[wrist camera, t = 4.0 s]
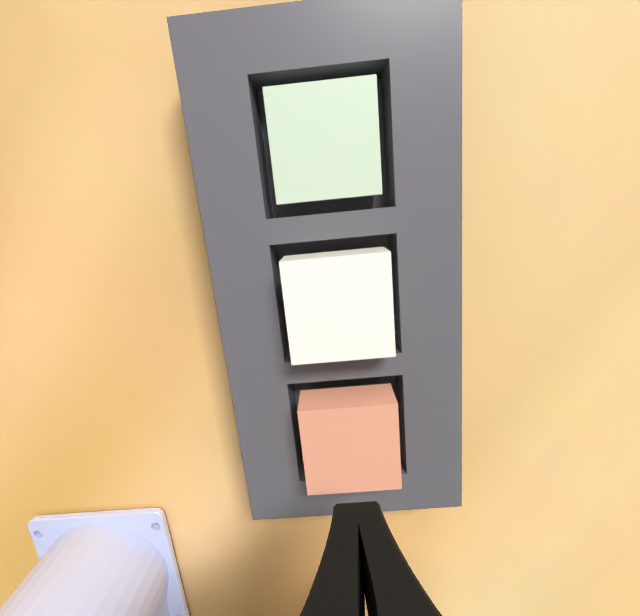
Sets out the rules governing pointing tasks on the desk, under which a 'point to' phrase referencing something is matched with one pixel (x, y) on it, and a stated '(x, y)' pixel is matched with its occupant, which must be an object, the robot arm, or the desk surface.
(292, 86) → the sage key
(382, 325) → the cream key
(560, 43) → the desk surface
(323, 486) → the terracotta key
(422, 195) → the keypad
